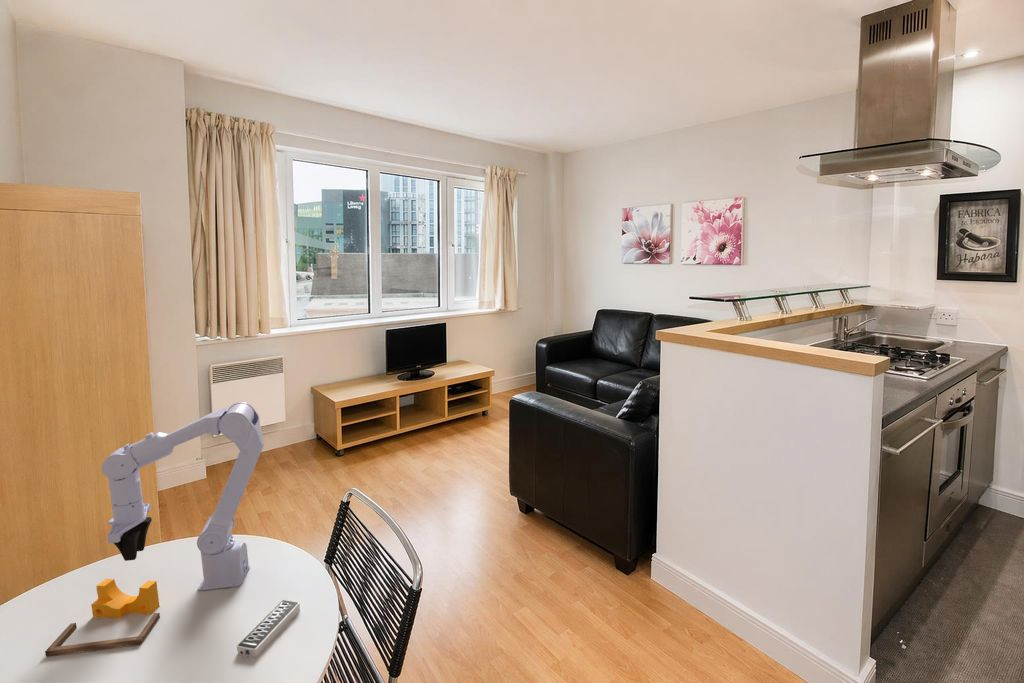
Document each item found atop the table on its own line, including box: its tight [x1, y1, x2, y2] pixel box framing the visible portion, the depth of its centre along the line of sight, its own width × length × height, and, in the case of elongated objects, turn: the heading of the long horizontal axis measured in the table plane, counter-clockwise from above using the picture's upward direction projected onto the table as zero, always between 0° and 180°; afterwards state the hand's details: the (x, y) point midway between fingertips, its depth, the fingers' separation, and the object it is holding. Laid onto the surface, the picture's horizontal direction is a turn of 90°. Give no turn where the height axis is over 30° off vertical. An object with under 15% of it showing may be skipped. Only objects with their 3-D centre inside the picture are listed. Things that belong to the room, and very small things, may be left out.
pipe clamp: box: [90, 578, 160, 619], centre depth 114 cm, size 12×4×6 cm, turn 86°
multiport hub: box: [236, 599, 301, 659], centre depth 109 cm, size 4×14×2 cm, turn 167°
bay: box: [44, 612, 161, 658], centre depth 107 cm, size 17×8×1 cm, turn 101°
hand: (134, 555), depth 119 cm, fingers open, 3 cm apart
